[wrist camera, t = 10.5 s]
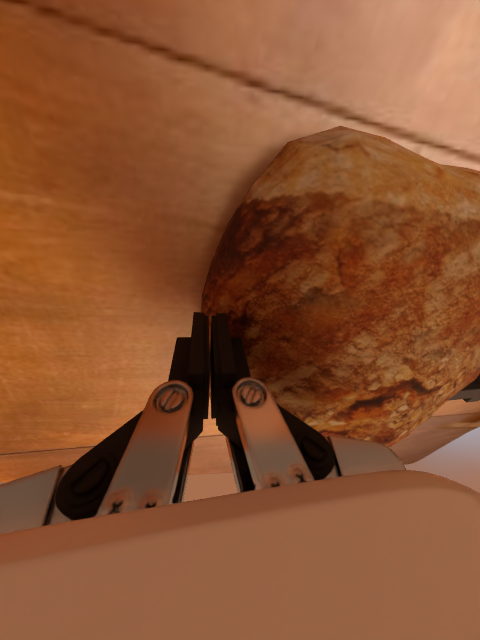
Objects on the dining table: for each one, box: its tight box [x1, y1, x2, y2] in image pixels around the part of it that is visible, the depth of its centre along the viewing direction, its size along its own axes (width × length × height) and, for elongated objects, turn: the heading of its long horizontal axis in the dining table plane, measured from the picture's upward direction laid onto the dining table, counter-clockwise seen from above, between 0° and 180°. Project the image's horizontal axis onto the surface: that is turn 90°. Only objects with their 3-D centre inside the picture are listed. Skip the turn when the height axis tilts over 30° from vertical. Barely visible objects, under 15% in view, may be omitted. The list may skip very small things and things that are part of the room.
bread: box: [201, 126, 480, 448], centre depth 12 cm, size 20×18×10 cm
